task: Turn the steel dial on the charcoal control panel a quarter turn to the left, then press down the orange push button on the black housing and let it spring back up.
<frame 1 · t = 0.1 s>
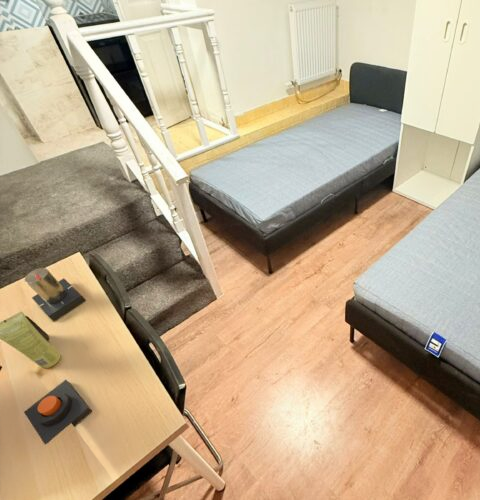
battery charger: (41, 346, 97), on the table
tube: (52, 360, 94), on the table
dial panel: (61, 301, 108), on the table
pump housing: (60, 412, 83), on the table
dial: (46, 285, 102), point 8 cm above the table, hinge at 0.0°
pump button: (49, 405, 80), point 5 cm above the table, slide at 0.1 cm
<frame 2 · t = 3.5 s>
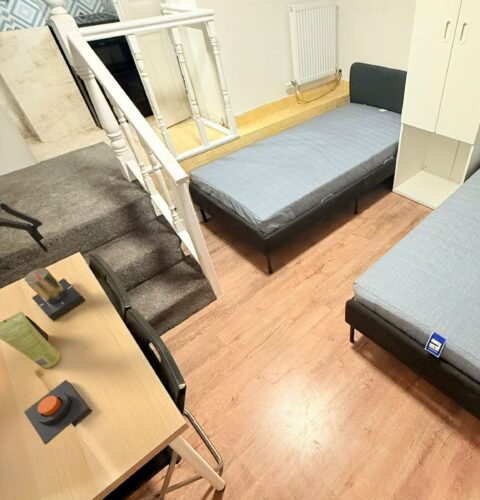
hand: (17, 264, 88), 23 cm above the table, tool pointing down, fingers open, 13 cm apart
nothing on the table moved.
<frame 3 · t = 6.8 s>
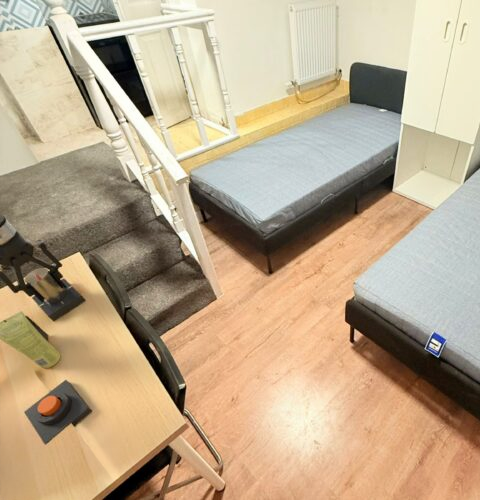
hand: (52, 292, 105), 5 cm above the table, tool pointing down, fingers closed on dial, 6 cm apart
dial: (46, 285, 102), point 8 cm above the table, hinge at 0.0°, touching gripper
everything else where it was.
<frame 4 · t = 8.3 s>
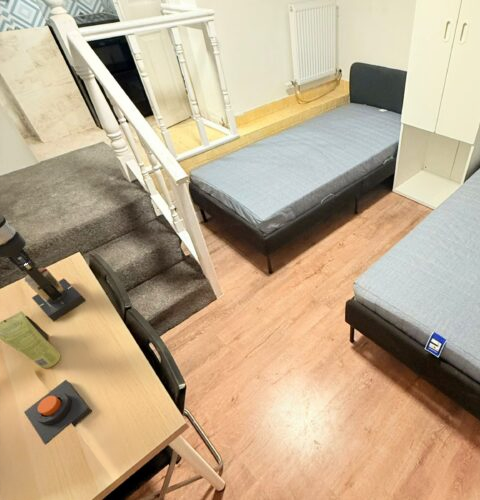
hand: (52, 292, 105), 5 cm above the table, tool pointing down, fingers closed on dial, 6 cm apart
dial: (46, 285, 102), point 8 cm above the table, hinge at 91.2°, touching gripper
everything else where it was.
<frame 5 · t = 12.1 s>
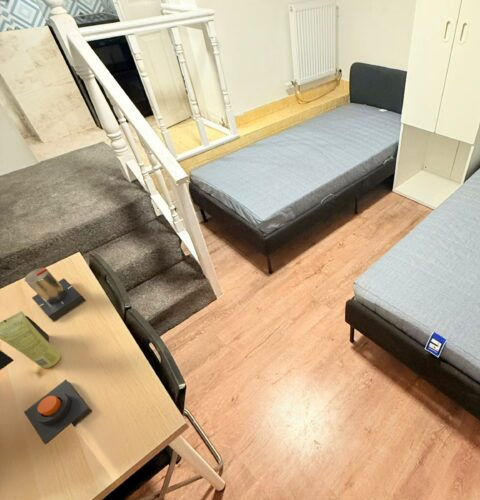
dial: (46, 285, 102), point 8 cm above the table, hinge at 91.2°
everything else where it was.
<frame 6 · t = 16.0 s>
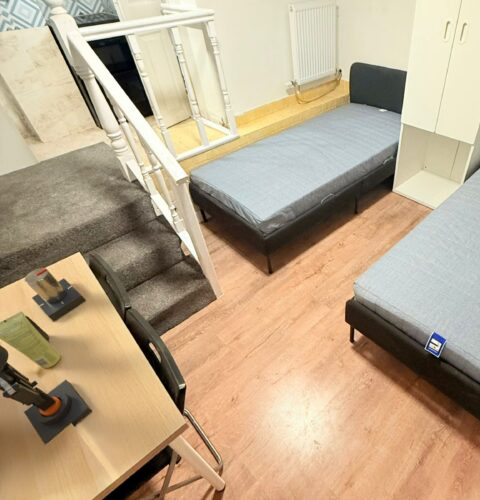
hand: (48, 404, 79), 5 cm above the table, tool pointing down, fingers closed
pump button: (51, 406, 80), point 4 cm above the table, slide at -0.6 cm, touching gripper
everything else where it was.
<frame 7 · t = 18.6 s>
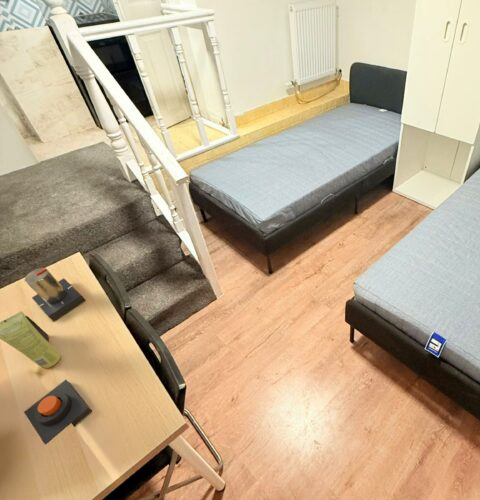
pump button: (49, 405, 80), point 5 cm above the table, slide at 0.1 cm
everything else where it was.
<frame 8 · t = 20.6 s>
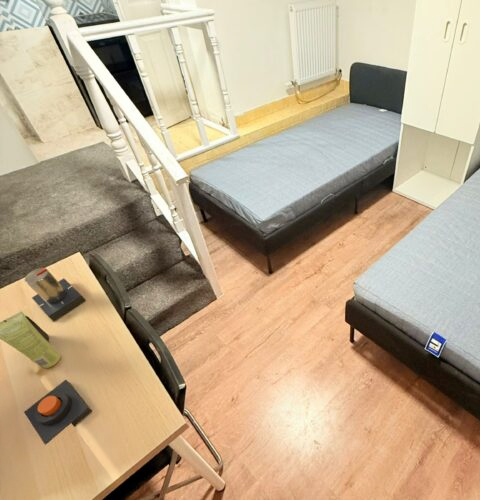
nothing on the table moved.
at the end: dial at +91° (first picture: +0°); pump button pushed in 1.2 cm at the most during the clip, back to where it started at the end; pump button slide at 0.1 cm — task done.
